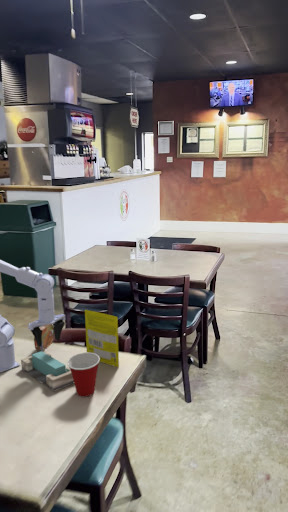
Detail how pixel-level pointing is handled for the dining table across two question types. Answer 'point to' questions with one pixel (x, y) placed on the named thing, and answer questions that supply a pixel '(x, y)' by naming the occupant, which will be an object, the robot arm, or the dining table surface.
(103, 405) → the dining table surface
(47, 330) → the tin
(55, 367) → the slat
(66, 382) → the cradle
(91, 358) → the plastic cup
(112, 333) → the food package
